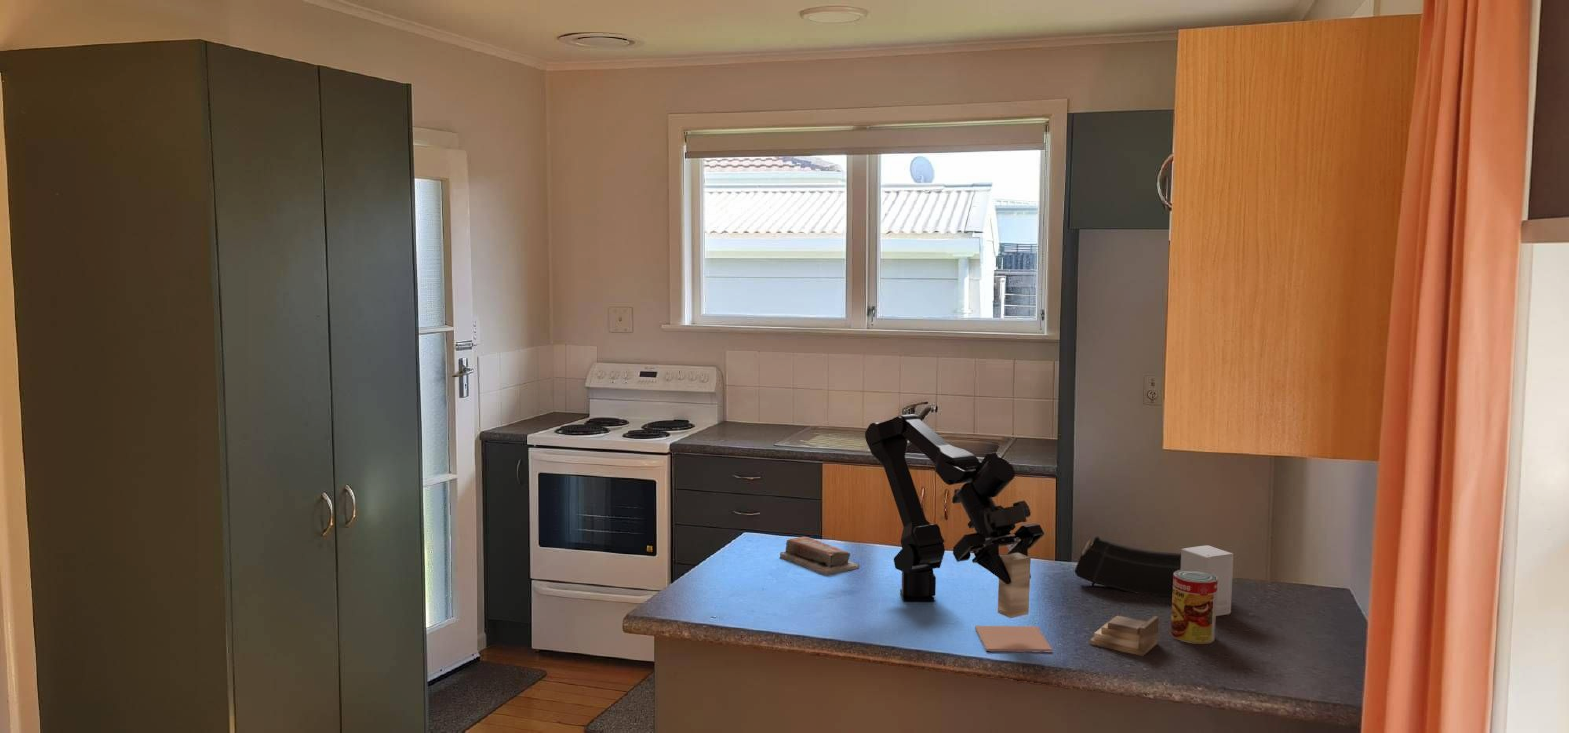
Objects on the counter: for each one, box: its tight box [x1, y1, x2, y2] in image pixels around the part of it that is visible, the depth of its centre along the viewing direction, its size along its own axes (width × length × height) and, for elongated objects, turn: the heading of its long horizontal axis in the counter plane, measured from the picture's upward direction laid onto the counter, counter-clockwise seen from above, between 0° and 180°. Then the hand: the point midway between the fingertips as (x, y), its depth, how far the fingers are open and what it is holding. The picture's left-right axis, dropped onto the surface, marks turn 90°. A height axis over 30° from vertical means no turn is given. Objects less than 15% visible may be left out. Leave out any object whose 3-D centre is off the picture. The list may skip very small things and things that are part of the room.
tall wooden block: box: [997, 553, 1032, 619], centre depth 206 cm, size 4×4×11 cm
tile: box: [974, 625, 1053, 652], centre depth 207 cm, size 12×12×1 cm
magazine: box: [1074, 535, 1181, 598], centre depth 236 cm, size 17×3×30 cm
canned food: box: [1170, 569, 1218, 645], centre depth 209 cm, size 8×8×12 cm
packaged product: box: [779, 536, 861, 576], centre depth 256 cm, size 18×5×10 cm
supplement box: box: [1180, 544, 1234, 617], centre depth 224 cm, size 7×7×13 cm
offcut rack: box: [1089, 615, 1159, 657], centre depth 206 cm, size 10×8×5 cm
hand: (1019, 581), depth 205 cm, fingers closed on tall wooden block, 4 cm apart
